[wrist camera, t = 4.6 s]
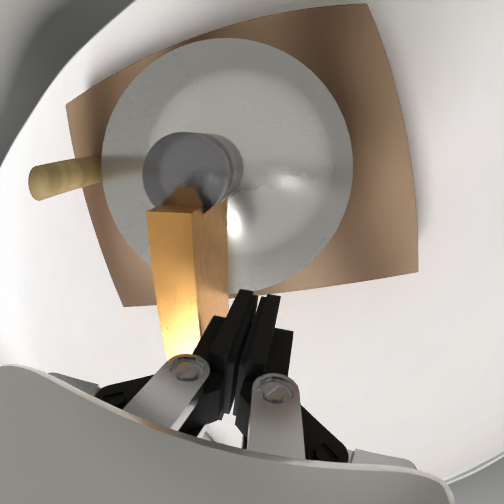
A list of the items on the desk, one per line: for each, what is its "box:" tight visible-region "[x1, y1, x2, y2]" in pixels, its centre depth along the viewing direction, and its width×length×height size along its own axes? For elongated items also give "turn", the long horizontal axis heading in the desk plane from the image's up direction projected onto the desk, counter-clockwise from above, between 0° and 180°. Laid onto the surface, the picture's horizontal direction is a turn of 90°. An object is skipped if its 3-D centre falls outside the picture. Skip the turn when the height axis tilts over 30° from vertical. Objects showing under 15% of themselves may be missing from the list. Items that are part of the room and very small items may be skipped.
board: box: [28, 4, 418, 307], centre depth 12 cm, size 18×14×7 cm
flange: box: [101, 38, 353, 360], centre depth 11 cm, size 14×12×5 cm
